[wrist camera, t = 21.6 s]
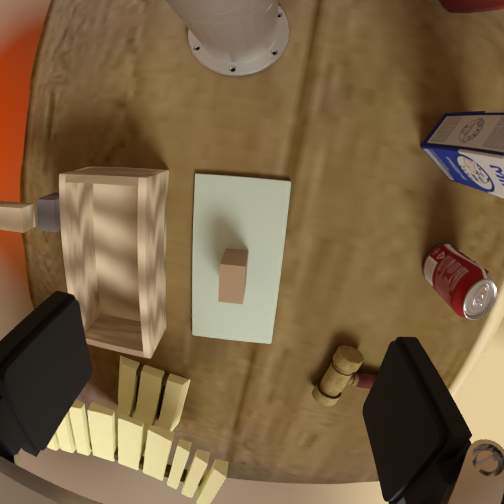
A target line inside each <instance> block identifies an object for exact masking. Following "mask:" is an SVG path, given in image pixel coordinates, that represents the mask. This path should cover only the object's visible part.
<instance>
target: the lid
mask: <svg viewBox="0 0 504 504" xmlns="http://www.w3.org/2000/svg"><path fill="white" fill-rule="evenodd" d="M290 188H291V181H285V180H275V179H264V178H253V177H241V176H229V175H214V174H198V173H196V174H195V191H194V217H193V257H192V334H193V335H196V336H203V337H211V338H220V339H228V340H238V341H247V342H258V343H269V344H271V341H272V334H273V327H274V319H275V312H276V305H277V297H278V290H279V282H280V274H281V266H282V258H283V250H284V241H285V233H286V224H287V215H288V207H289V198H290Z"/></svg>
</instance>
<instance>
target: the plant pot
mask: <svg viewBox="0 0 504 504" xmlns="http://www.w3.org/2000/svg"><path fill="white" fill-rule="evenodd" d="M440 1H441V3H442V4H443V6H444V7H445V9H446V10H448V11H449V12H452V13H473V12H484V11H492V10H498V9H504V0H440Z"/></svg>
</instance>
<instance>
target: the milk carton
mask: <svg viewBox="0 0 504 504" xmlns="http://www.w3.org/2000/svg"><path fill="white" fill-rule="evenodd" d="M420 147H421V148H422V149H423V150H424V151H425V152H426V153H427V154H428V155H429V157H430V158H431V159H432V160H433V161H434V162H435V163H436V164H437V166H438V167H439V168H440V169H441V170H442V171H443V173H444V174H445V175H446V176H447V177H448V179H449V180H451V181H454V182H458V183H461V184H464V185H467V186H470V187H473V188H476V189H479V190H482V191H485V192H487V193H490V194H493V195H496V196H499V197H501V198H504V111H476V112H457V113H445V115H444V116H443V117H442V119H441V120H440V121H439V123H438V124H437V125H436V127H435V128H434V129H433V130H432V132H431V133H430V134H429V136H428V137H427V138H426V140H425V141H424V142H423V143H422V145H421V146H420Z"/></svg>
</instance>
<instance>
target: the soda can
mask: <svg viewBox="0 0 504 504" xmlns="http://www.w3.org/2000/svg"><path fill="white" fill-rule="evenodd" d="M423 272H424V277H425V279H426V281H427V282H428V283H429V284H430V285H431V286H432V287H433V288H434V289H435V290H436V291H437V292H438V294H439V295H440V296H441V297H442V298H443V299H444V300H445V301H446V302H447V303H448V304H449V306H450V307H451V308H452V309H453V310H454V311H455V312H456V313H457V314H458V315H459V316H461V317H467V318H468V319H470V320H477V319H480V318H482V317H483V316H485V315H486V314H487V313H488V312H489V311H490V310H491V308H492V307H493V305H494V303H495V301H496V297H497V287H496V285H495V283H494V282H493V278H492V276H491V274H490V273H489V272H488V271H487V270H486V269H485V268H483V267H482V266H481V265H479V264H478V263H477V262H475V261H474V260H472V259H471V258H470V257H468V256H467V255H466V254H464V253H463V252H461V251H460V250H459V249H457V248H456V247H454V246H453V245H451V244H441V245H438V246H437V247H435V248H434V249H433V250H432V251H431V252H430V253H429V254H428V256H427V257H426V260H425V262H424V267H423Z"/></svg>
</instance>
